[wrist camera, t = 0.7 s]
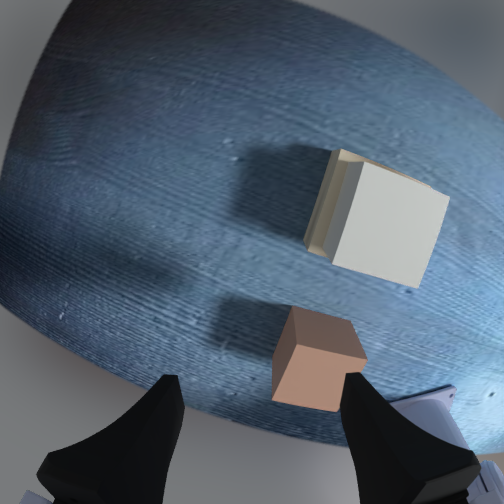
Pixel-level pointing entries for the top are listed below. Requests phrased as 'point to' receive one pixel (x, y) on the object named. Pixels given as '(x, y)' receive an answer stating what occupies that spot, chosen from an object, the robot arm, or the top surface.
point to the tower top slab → (384, 224)
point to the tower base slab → (332, 197)
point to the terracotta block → (315, 359)
